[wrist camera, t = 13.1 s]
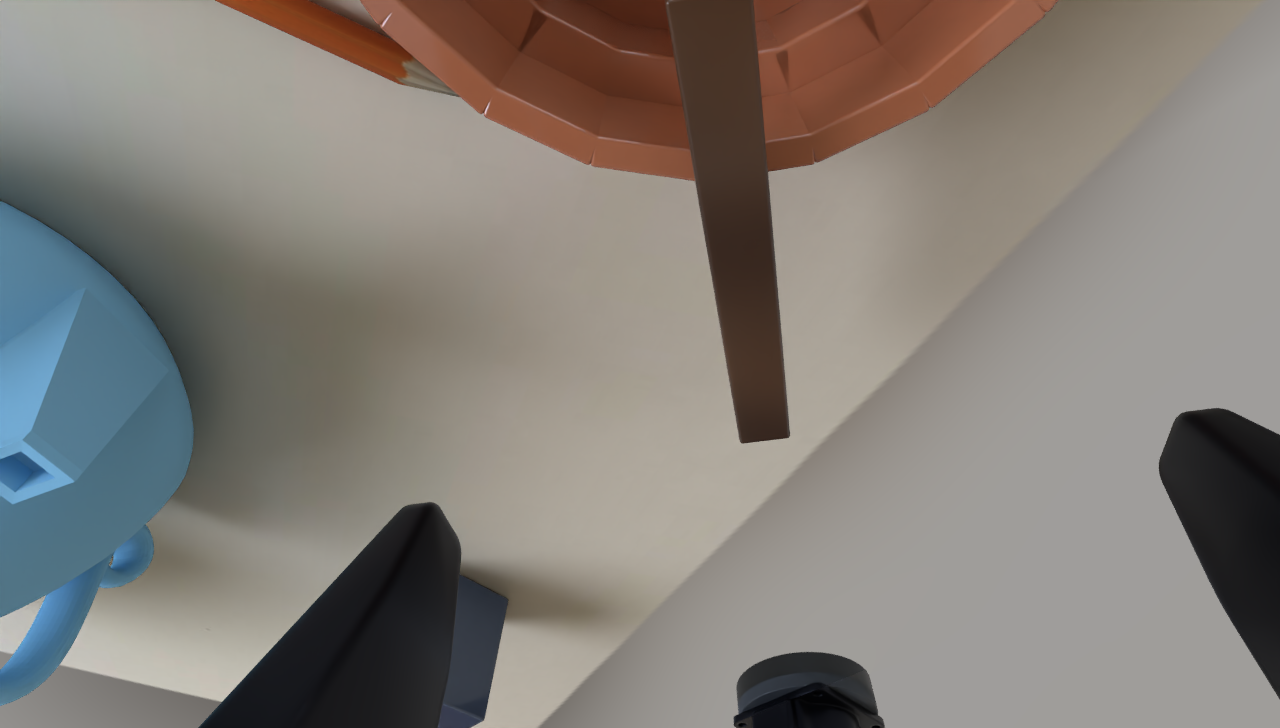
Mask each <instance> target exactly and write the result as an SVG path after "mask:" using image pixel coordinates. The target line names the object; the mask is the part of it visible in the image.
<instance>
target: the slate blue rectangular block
mask: <svg viewBox="0 0 1280 728" xmlns="http://www.w3.org/2000/svg"><path fill="white" fill-rule="evenodd" d="M507 605H508V599H507V598H505V597H503V596H501V595H499V594H497V593H495V592H493V591H491V590H489V589H487V588H485V587H483V586H481V585H479V584H477V583H476V582H474V581H472V580H470V579H468V578H466V577H464V576H462V575H460V574H459V584H458V594H457V605H456V616H455V626H454V637H453V647H452V655H451V663H450V669H449V675H448V680H447V686H446V691H445V696H444V700H443V705H442V710H441V715H440V720H439V725H438V728H471V727H473V726H474V725H476V724H478V723H480V722H482V721H484V719H485V714H486V709H487V704H488V699H489V694H490V689H491V684H492V679H493V674H494V669H495V664H496V659H497V654H498V649H499V644H500V639H501V634H502V629H503V624H504V620H505V615H506V610H507Z"/></svg>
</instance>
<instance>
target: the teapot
mask: <svg viewBox="0 0 1280 728" xmlns="http://www.w3.org/2000/svg"><path fill="white" fill-rule="evenodd" d="M193 436H194V429H193V421H192V414H191V409H190V405H189V400H188V397H187V394H186V391H185V388H184V385H183V381H182V378H181V375H180V372H179V369H178V367H177V365H176V363H175V361H174V358H173V356H172V354H171V352H170V350H169V348H168V346H167V344H166V342H165V340H164V338H163V336H162V335H161V333H160V332H159V330H158V329H157V327H156V326H155V324H154V322H153V321H152V319H151V318H150V317H149V316H148V314H147V313H146V312H145V311H144V309H143V308H142V307H141V306H140V304H139V303H138V302H137V301H136V299H135V298H134V297H133V296H132V295H131V294H130V293H129V292H128V291H127V290H126V289H125V288H124V287H123V286H122V285H121V284H120V283H119V282H118V281H117V280H116V279H115V278H114V277H113V276H112V275H111V274H110V273H109V272H108V271H107V270H105V269H104V268H103V267H102V266H101V265H100V264H99V263H97V262H96V261H95V260H94V259H93V258H92V257H90V256H89V255H88V254H86V253H85V252H84V251H82V250H81V249H80V248H78V247H77V246H76V245H74V244H73V243H72V242H70V241H69V240H68V239H66V238H65V237H63V236H62V235H60V234H59V233H57V232H55V231H54V230H52V229H51V228H49V227H48V226H46V225H44V224H43V223H41V222H40V221H38V220H36V219H34V218H33V217H31V216H29V215H27V214H25V213H23V212H22V211H20V210H18V209H16V208H14V207H12V206H10V205H8V204H6V203H4V202H2V201H0V617H2V616H4V615H7V614H9V613H11V612H13V611H15V610H17V609H20V608H22V607H24V606H26V605H28V604H29V603H31V602H33V601H35V600H37V599H39V598H41V597H43V596H45V595H46V597H45V600H44V602H43V604H42V606H41V608H40V610H39V612H38V614H37V616H36V618H35V620H34V622H33V624H32V626H31V628H30V630H29V631H28V633H27V635H26V637H25V638H24V640H23V641H22V643H21V644H20V646H19V647H18V649H17V650H16V652H15V653H14V654H13V656H12V657H11V658H10V660H9V661H8V662H7V663H6V664H5V665H4V667H3V668H2V669H0V706H1V705H4V704H7V703H10V702H13V701H15V700H17V699H19V698H21V697H23V696H25V695H27V694H28V693H30V692H31V691H33V690H34V689H36V688H37V687H38V686H40V685H41V684H42V683H43V682H44V681H45V680H46V679H47V678H48V677H49V676H50V675H51V674H52V673H53V672H54V671H55V670H56V668H57V667H58V666H59V664H60V663H61V662H62V660H63V659H64V657H65V656H66V654H67V653H68V651H69V649H70V648H71V646H72V644H73V642H74V640H75V639H76V637H77V635H78V633H79V631H80V629H81V627H82V625H83V623H84V620H85V618H86V616H87V614H88V612H89V609H90V607H91V605H92V602H93V600H94V598H95V595H96V593H97V591H98V588H99V587H101V588H113V587H120V586H123V585H125V584H127V583H129V582H131V581H133V580H135V579H136V578H137V577H138V576H140V575H141V574H142V573H143V572H144V571H145V570H146V569H147V568H148V566H149V564H150V562H151V561H152V558H153V554H154V544H153V538H152V535H151V533H150V530H149V529H148V527H147V526H146V525H145V524H146V523H147V522H148V521H149V520H150V519H151V518H152V517H153V516H154V515H155V514H156V513H157V512H158V511H159V510H160V509H161V508H162V507H163V506H164V505H165V503H166V502H167V501H168V500H169V499H170V497H171V496H172V495H173V494H174V492H175V491H176V490H177V488H178V487H179V485H180V484H181V482H182V480H183V479H184V477H185V475H186V472H187V469H188V465H189V462H190V459H191V454H192V449H193ZM112 556H114V559H113V563H112V565H111V567H110V566H109V563H110V560H111V558H112Z"/></svg>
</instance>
